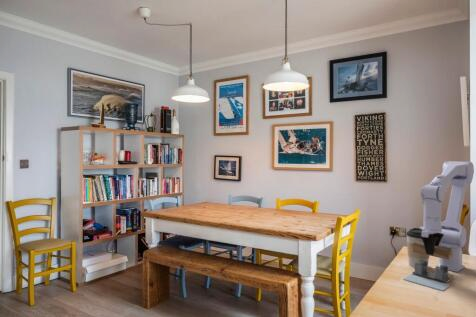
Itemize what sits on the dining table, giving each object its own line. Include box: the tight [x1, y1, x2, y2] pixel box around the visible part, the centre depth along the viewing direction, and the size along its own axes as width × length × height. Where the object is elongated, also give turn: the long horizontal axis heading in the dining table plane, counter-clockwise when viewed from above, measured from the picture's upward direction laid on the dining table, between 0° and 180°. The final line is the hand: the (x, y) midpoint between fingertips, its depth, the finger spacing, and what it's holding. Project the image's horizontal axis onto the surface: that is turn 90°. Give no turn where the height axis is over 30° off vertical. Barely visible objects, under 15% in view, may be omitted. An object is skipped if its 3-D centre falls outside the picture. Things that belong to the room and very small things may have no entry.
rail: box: [412, 242, 453, 260], centre depth 124 cm, size 3×13×3 cm, turn 41°
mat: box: [403, 273, 451, 292], centre depth 118 cm, size 7×13×1 cm, turn 41°
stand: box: [411, 260, 451, 284], centre depth 124 cm, size 6×11×4 cm, turn 41°
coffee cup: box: [406, 227, 430, 269], centre depth 136 cm, size 9×9×15 cm
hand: (431, 253), depth 124 cm, fingers closed on rail, 3 cm apart
